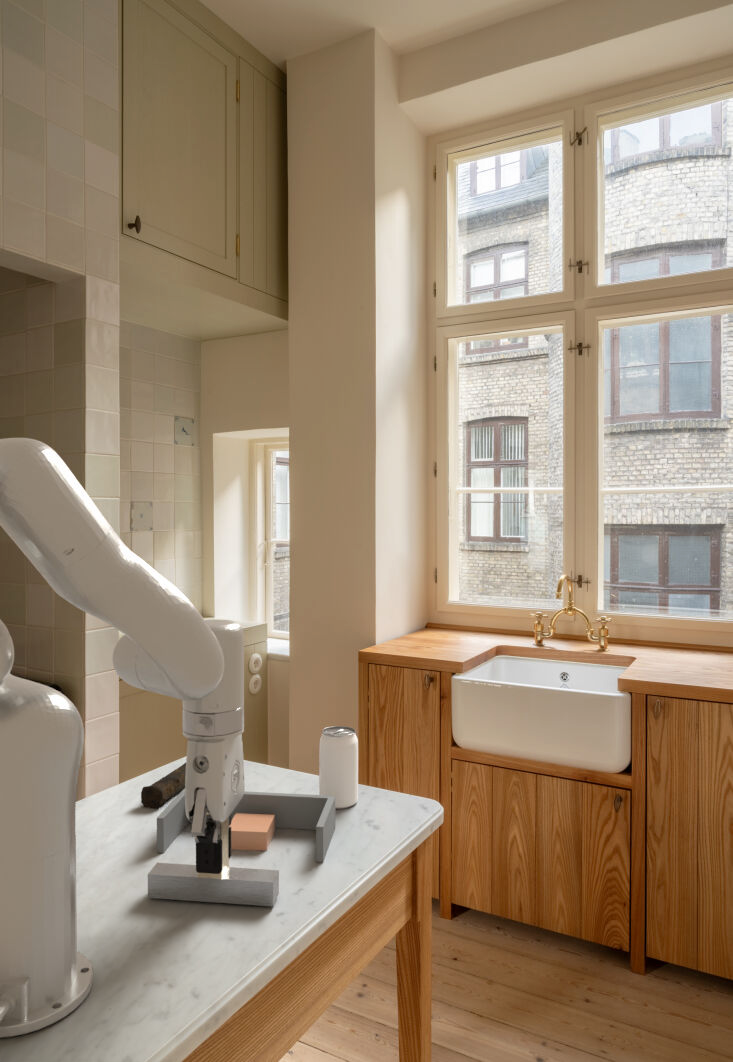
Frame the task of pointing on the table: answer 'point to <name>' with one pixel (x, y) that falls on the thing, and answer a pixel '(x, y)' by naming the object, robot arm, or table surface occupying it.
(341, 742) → the can
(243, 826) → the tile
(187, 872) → the scraper
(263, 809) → the box
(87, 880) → the table surface
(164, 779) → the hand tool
